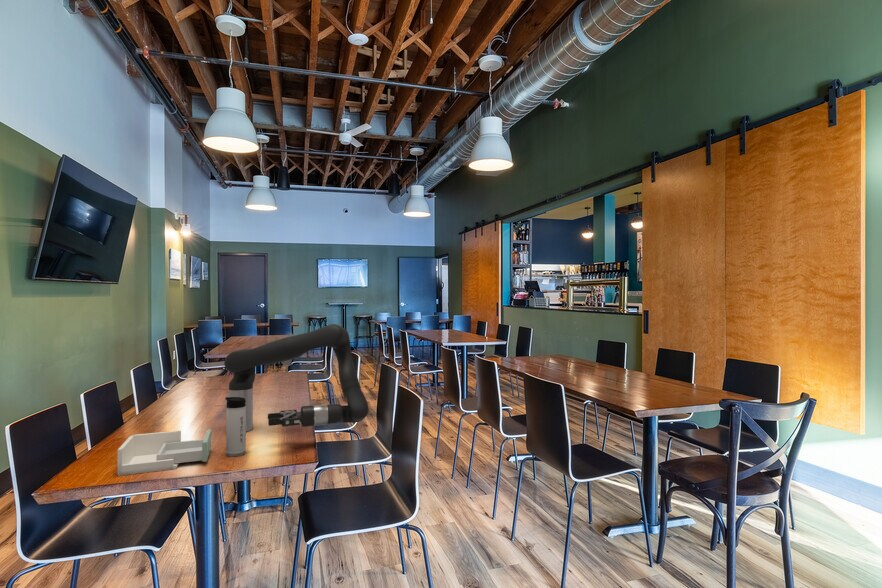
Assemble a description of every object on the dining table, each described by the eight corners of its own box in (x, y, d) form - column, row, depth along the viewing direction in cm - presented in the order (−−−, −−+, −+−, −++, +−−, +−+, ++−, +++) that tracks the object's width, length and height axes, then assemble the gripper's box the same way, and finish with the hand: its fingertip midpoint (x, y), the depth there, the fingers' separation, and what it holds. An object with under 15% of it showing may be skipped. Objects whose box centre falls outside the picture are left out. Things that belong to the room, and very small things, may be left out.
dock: (183, 452, 166) (184, 430, 166) (176, 468, 150) (176, 443, 150) (130, 458, 160) (131, 435, 160) (117, 475, 144) (117, 449, 144)
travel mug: (225, 452, 166) (226, 396, 166) (246, 450, 168) (246, 394, 168) (224, 458, 160) (224, 399, 160) (245, 455, 162) (245, 398, 162)
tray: (211, 446, 169) (211, 428, 169) (206, 461, 153) (206, 442, 153) (164, 451, 163) (164, 433, 163) (155, 467, 148) (155, 447, 148)
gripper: (312, 401, 181) (267, 405, 175) (316, 409, 168) (268, 413, 162) (312, 420, 181) (267, 425, 175) (316, 430, 167) (268, 435, 161)
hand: (268, 419), depth 168 cm, fingers open, 8 cm apart
